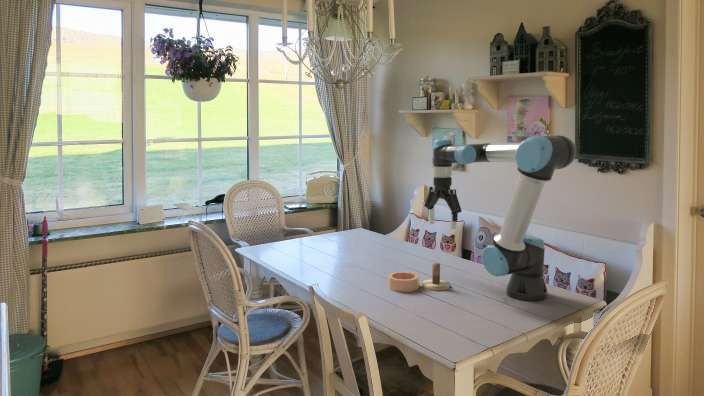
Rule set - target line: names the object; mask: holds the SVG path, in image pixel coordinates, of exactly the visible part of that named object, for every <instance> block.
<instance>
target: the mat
mask: <svg viewBox="0 0 704 396" xmlns="http://www.w3.org/2000/svg"><path fill="white" fill-rule="evenodd" d="M419 285H421V286H422V282H419ZM426 290H427V292H433V291H435V292H436V290H428V289H426ZM447 290H449V291H450V290H452V288H451V287H450V288H449V289H446V290H445V291H447Z"/></svg>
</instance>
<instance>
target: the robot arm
mask: <svg viewBox="0 0 704 396" xmlns="http://www.w3.org/2000/svg"><path fill="white" fill-rule="evenodd" d="M576 155H577V147H576V145H575V143H574V141H572V139H571V138H569V137H567V136H565V135H560V134H559V135H534V136H529V137H528V138H525V139H524V140H522V141H521V142H497V143H496V142H493V143H491V142H484V143H470V144H469V143H468V144H453V139H449V138H447V139H446V138H445V139H444V138H441V139H439V138H438V139H435V140H434V141H433V174H432V175H433V176H434V177H433V178H432V179H433V182H432V183H433V186H429V188H428V190H429V191H428V194H427V197H426V199H425V202H424V205H423V206H424V208H426V209H427V217H428V224H427V225H435V206H436V204H437V203H438V201H439V199H441V200H444V201H445V202H446V205H448V208H449V210H450V211H451V213H450V223H449V224H450V227H449V230H456V229H457V223H458V214H459V213H461V212H462V211H463V209H462V208H461V205H460V202H459V198H458V196H457V190H456V188H453V189H451V186H452V184H453V182H452V181H453V179H452V175H453V173H452V172H453V168H452V167H453V164H458V165H459V164H460V165H470V164H473V163H516V165H517V169H516V170H517V173H518V174H519V176H518V180H517V182H516V185H515V187H514V188H515V189H514V191H513V193H512V197H511V200H510V203H509V206H508V208H507V211H506V214H505V216H504V220H503V223H502V225H501V228H500V232H498V233H495V235H494V236H493V238H492V241H491V244H489V245H486V246H485V247H484V248H483V249H482V251H481V262H482V264H483V266H484V267H483V268H484V269H485V270H486V272H488V273H489V274H490V275H492V276H494V277H504V276H508V275H510V278H509V279H508V280H509V281H508V283H507V285H506V292H505V293H506V295H507V296H509V297H510V298H513V299H515V300H520V301H527V302H531V301H532V302H533V301H534V302H535V301H536V302H537V301H543V300H545V299H547V298H548V288H547V285H546V281H545V279H544V270H545V269H544V268H545V251H546V249H545V240H543V239H542V238H540V237H536V236H530V235H526V234H527V231H528V229H529V227H530V223H531V220H532V218H533V216H534V213H535V210H536V208H537V205H538V202H539V200H540V196H541V194H542V191H543V188H544V185H545V184H546V183H548V182H550V181H552V178H553V175H554V173H555V170H561V169H565V168H567V167H569V166H570V165H571V164H572V163H574V160H575V159H576Z"/></svg>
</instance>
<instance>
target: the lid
mask: <svg viewBox="0 0 704 396" xmlns="http://www.w3.org/2000/svg"><path fill="white" fill-rule="evenodd" d="M431 272H432V274H431V275H432V276H431V277H432V279H425V280H423V281H422V282H421V283H422V285H421V287H422V288H424V289H425V290H427V289H428V290H436V291H438V292H439V291H447V290H446V289H449V288H451V284H450V282H449V281H447V280H445V279H441V263H437V262H434V263H432V270H431ZM428 290H427V291H428ZM436 291H435V292H436Z"/></svg>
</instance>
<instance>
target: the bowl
mask: <svg viewBox="0 0 704 396" xmlns="http://www.w3.org/2000/svg"><path fill="white" fill-rule="evenodd" d="M387 287H388V288H389V290H392V291H395V292H401V293H402V292H403V293H404V292H414V291H417V290H418V289H419V288H420V276H419V274H418V273H415V272H411V271H395V272H391V273H389V274H388V275H387Z"/></svg>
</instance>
